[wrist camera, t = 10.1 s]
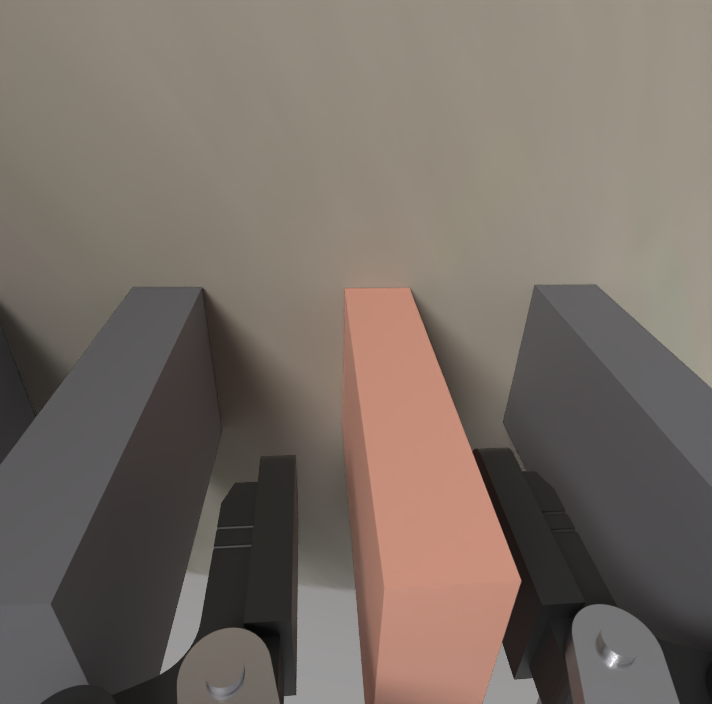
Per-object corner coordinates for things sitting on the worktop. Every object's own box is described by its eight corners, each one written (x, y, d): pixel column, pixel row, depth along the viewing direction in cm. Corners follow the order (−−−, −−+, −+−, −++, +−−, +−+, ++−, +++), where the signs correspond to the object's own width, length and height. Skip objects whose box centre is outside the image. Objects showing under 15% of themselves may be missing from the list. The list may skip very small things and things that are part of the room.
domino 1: (164, 431, 16) (24, 782, 9) (133, 287, 14) (-107, 608, 6) (222, 431, 16) (133, 777, 9) (201, 287, 14) (50, 604, 6)
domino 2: (342, 428, 17) (369, 757, 9) (344, 288, 14) (384, 587, 7) (397, 426, 17) (467, 750, 9) (409, 287, 14) (521, 580, 7)
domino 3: (503, 422, 17) (655, 734, 10) (534, 285, 15) (778, 563, 7) (555, 421, 17) (745, 726, 10) (596, 284, 15) (900, 557, 7)
